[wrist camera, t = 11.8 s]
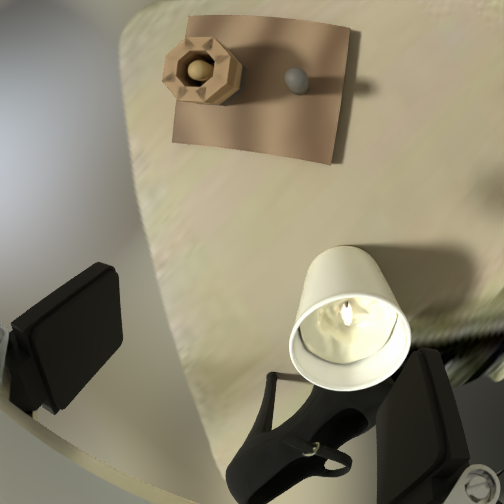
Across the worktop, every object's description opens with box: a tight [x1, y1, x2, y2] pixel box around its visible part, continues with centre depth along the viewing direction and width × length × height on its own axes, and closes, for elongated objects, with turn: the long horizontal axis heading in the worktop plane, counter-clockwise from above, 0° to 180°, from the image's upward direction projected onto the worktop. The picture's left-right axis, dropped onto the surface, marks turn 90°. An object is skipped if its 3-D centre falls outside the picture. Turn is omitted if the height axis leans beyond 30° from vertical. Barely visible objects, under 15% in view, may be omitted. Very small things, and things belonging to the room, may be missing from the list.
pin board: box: [172, 15, 350, 165], centre depth 25 cm, size 16×14×7 cm
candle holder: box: [289, 246, 411, 391], centre depth 29 cm, size 10×10×12 cm
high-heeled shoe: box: [226, 372, 395, 504], centre depth 30 cm, size 8×19×20 cm, turn 108°
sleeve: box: [162, 37, 247, 106], centre depth 25 cm, size 6×6×6 cm
